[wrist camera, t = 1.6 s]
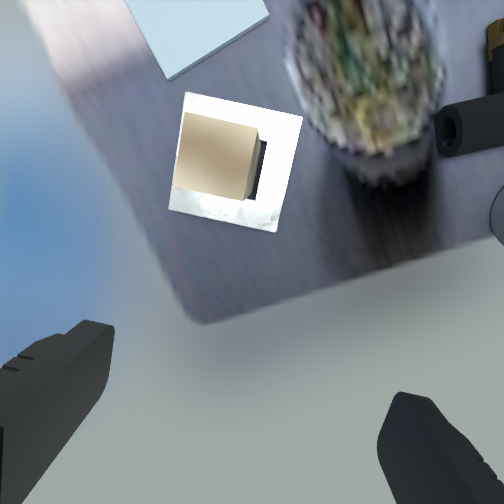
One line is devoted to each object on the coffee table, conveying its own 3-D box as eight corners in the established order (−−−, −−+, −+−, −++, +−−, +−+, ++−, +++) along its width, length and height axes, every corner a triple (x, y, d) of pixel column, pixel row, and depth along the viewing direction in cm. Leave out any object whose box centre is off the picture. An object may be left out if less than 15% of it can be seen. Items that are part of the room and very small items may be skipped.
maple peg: (252, 192, 35) (242, 201, 22) (209, 183, 35) (173, 186, 22) (261, 148, 34) (258, 127, 20) (217, 138, 34) (184, 111, 20)
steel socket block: (275, 229, 36) (275, 232, 34) (175, 207, 36) (168, 209, 34) (299, 121, 33) (302, 117, 31) (191, 97, 33) (185, 91, 31)
